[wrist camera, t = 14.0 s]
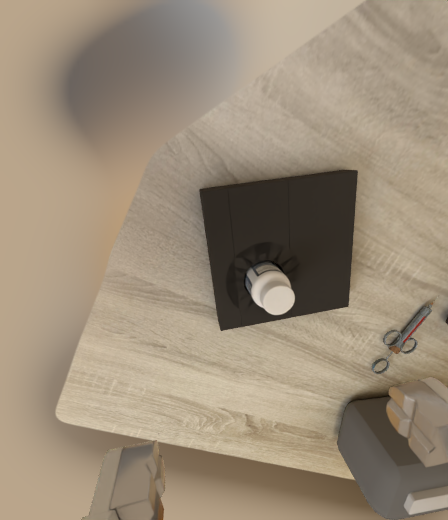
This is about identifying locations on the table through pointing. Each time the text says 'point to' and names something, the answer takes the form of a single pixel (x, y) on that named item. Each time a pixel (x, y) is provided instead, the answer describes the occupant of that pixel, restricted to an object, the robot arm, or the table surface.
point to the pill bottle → (269, 287)
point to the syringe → (404, 336)
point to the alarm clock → (389, 464)
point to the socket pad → (281, 242)
